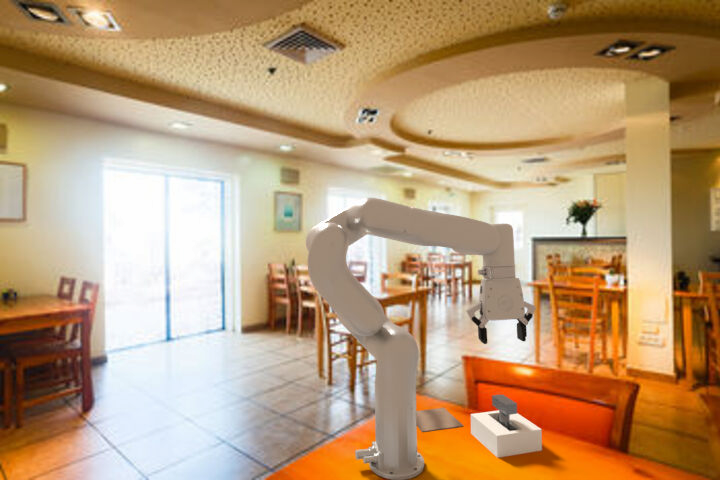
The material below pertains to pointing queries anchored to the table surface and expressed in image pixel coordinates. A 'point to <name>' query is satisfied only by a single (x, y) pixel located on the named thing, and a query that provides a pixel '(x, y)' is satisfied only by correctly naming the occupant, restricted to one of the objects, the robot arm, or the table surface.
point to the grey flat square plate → (436, 420)
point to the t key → (504, 409)
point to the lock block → (506, 434)
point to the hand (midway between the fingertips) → (502, 341)
